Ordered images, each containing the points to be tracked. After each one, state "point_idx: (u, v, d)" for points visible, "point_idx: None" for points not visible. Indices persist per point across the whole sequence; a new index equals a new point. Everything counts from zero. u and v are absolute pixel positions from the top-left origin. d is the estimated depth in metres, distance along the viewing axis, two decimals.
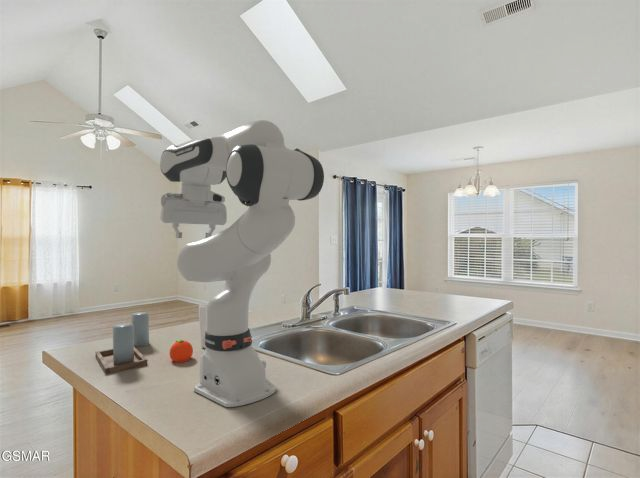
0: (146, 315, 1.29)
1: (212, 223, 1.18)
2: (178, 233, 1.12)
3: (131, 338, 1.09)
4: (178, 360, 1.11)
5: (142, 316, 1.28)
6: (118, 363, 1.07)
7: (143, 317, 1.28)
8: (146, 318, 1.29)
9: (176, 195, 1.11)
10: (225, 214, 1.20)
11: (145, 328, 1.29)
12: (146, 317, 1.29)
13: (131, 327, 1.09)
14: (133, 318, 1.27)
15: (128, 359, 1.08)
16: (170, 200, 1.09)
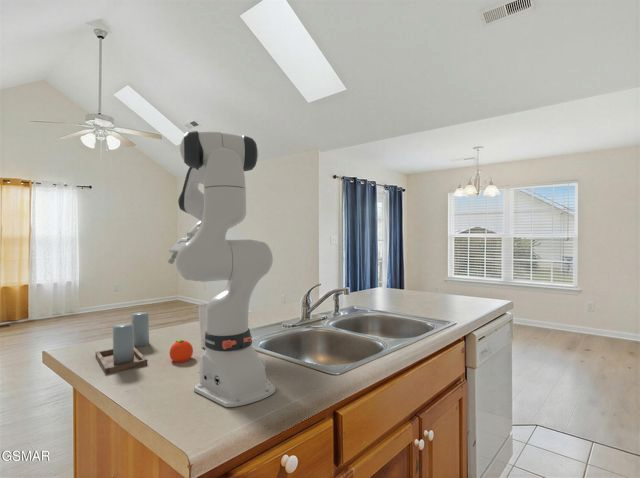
0: (146, 315, 1.29)
1: None
2: None
3: (131, 338, 1.09)
4: (178, 360, 1.11)
5: (142, 316, 1.28)
6: (118, 363, 1.07)
7: (143, 317, 1.28)
8: (146, 318, 1.29)
9: None
10: None
11: (145, 328, 1.29)
12: (146, 317, 1.29)
13: (131, 327, 1.09)
14: (133, 318, 1.27)
15: (128, 359, 1.08)
16: (181, 238, 1.47)
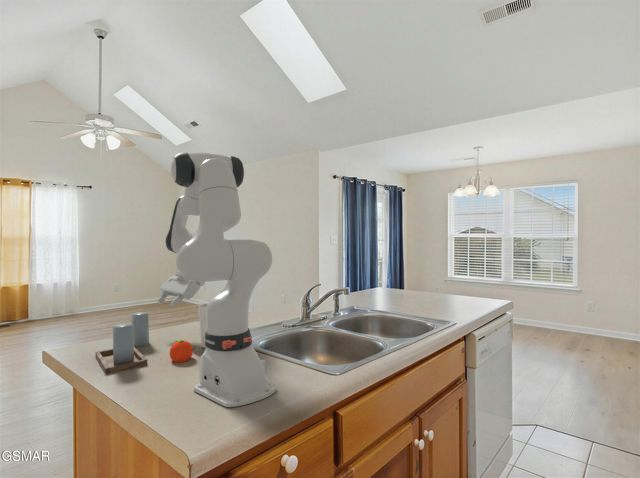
0: (146, 315, 1.29)
1: (177, 292, 1.35)
2: (159, 298, 1.40)
3: (131, 338, 1.09)
4: (178, 360, 1.11)
5: (142, 316, 1.28)
6: (118, 363, 1.07)
7: (143, 317, 1.28)
8: (146, 318, 1.29)
9: None
10: (188, 286, 1.34)
11: (145, 328, 1.29)
12: (146, 317, 1.29)
13: (131, 327, 1.09)
14: (133, 318, 1.27)
15: (128, 359, 1.08)
16: (171, 276, 1.47)
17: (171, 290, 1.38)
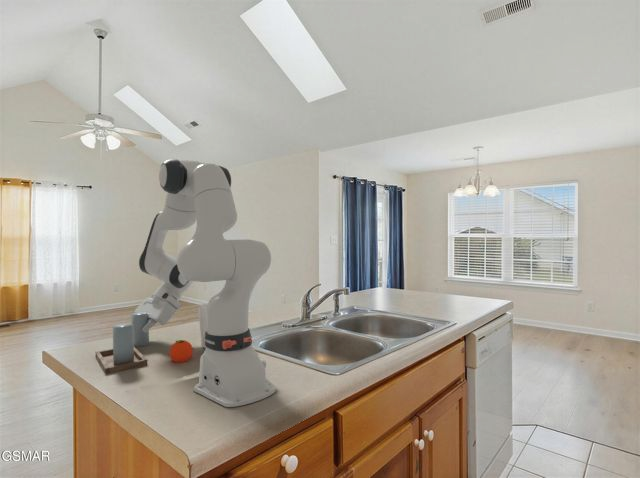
0: (146, 315, 1.29)
1: (151, 317, 1.28)
2: None
3: (131, 338, 1.09)
4: (178, 360, 1.11)
5: (142, 316, 1.28)
6: (118, 363, 1.07)
7: (143, 317, 1.28)
8: (146, 318, 1.29)
9: None
10: (162, 310, 1.27)
11: None
12: (146, 317, 1.29)
13: (131, 327, 1.09)
14: (133, 318, 1.27)
15: (128, 359, 1.08)
16: (147, 298, 1.40)
17: None
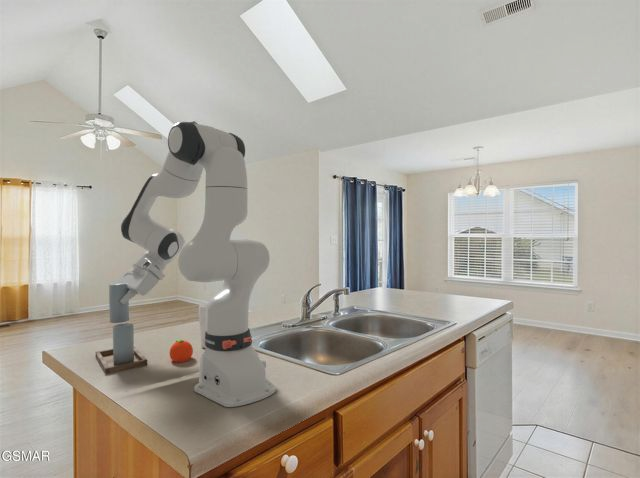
0: (125, 285, 1.17)
1: (131, 287, 1.15)
2: None
3: (131, 338, 1.09)
4: (178, 360, 1.11)
5: (120, 286, 1.15)
6: (118, 363, 1.07)
7: (122, 287, 1.16)
8: (125, 289, 1.17)
9: None
10: (142, 279, 1.14)
11: None
12: (125, 288, 1.17)
13: (131, 327, 1.09)
14: (110, 288, 1.15)
15: (128, 359, 1.08)
16: None
17: None
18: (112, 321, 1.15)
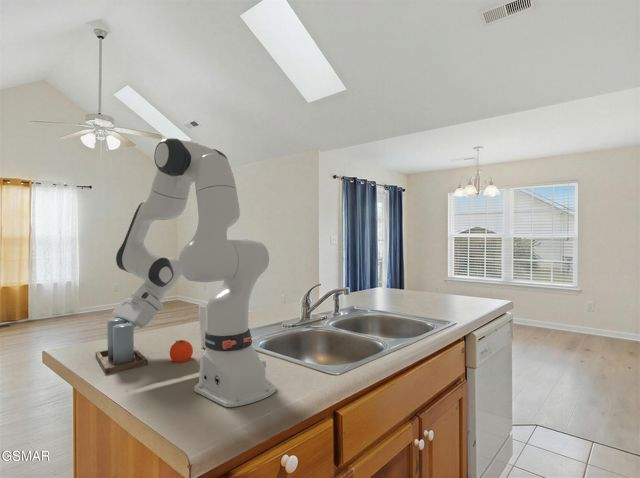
0: (123, 321, 1.16)
1: (129, 319, 1.15)
2: None
3: (131, 338, 1.09)
4: (178, 360, 1.11)
5: (119, 322, 1.15)
6: (118, 363, 1.07)
7: None
8: None
9: None
10: (141, 312, 1.13)
11: None
12: (123, 323, 1.16)
13: (131, 327, 1.09)
14: (109, 325, 1.14)
15: (128, 359, 1.08)
16: (127, 298, 1.27)
17: (123, 316, 1.18)
18: (110, 358, 1.14)
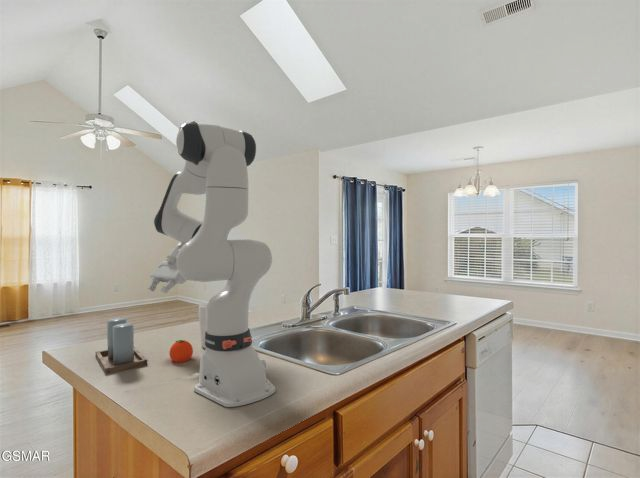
0: (123, 321, 1.16)
1: (169, 277, 1.24)
2: (150, 285, 1.29)
3: (131, 338, 1.09)
4: (178, 360, 1.11)
5: (119, 323, 1.15)
6: (118, 363, 1.07)
7: None
8: None
9: None
10: None
11: None
12: None
13: (131, 327, 1.09)
14: (108, 325, 1.14)
15: (128, 359, 1.08)
16: (162, 261, 1.36)
17: (162, 276, 1.27)
18: (110, 358, 1.14)
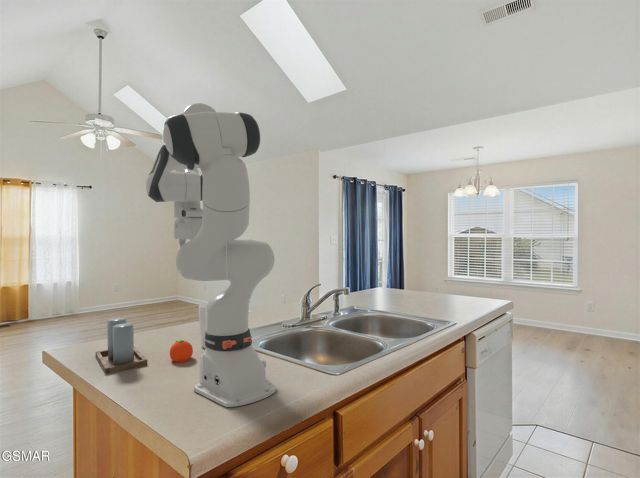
0: (124, 321, 1.16)
1: (188, 238, 1.22)
2: (180, 247, 1.31)
3: (131, 338, 1.09)
4: (178, 360, 1.11)
5: (119, 322, 1.15)
6: (118, 363, 1.07)
7: (120, 323, 1.15)
8: None
9: None
10: (191, 228, 1.19)
11: None
12: (124, 323, 1.16)
13: (131, 327, 1.09)
14: (109, 325, 1.14)
15: (128, 359, 1.08)
16: (175, 220, 1.33)
17: (182, 237, 1.26)
18: (110, 358, 1.14)
